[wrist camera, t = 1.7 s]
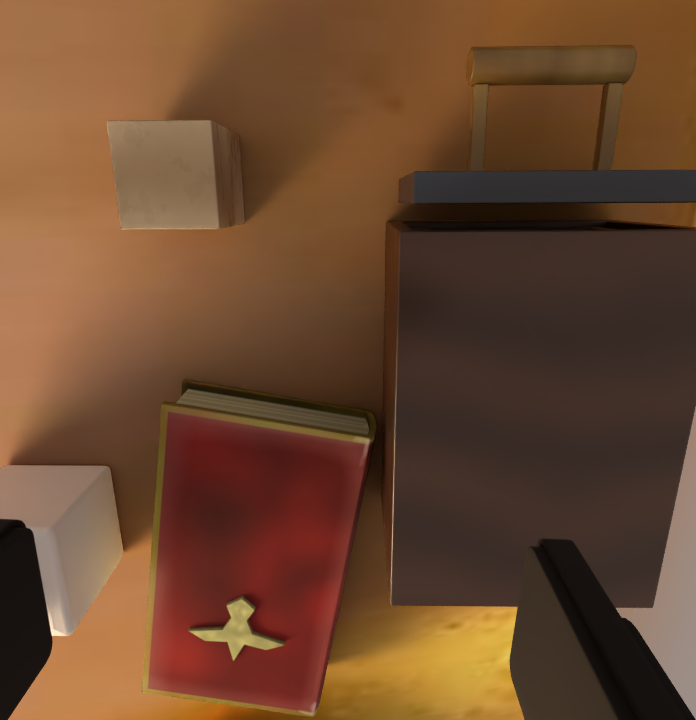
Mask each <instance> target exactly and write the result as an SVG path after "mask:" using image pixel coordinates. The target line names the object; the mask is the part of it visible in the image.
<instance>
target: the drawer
mask: <svg viewBox="0 0 696 720" xmlns="http://www.w3.org/2000/svg"><path fill="white" fill-rule="evenodd" d="M635 63H636V49H635V47H634V46H632V45H597V46H506V47H472V48H471V49H470V51H469V55H468V60H467V69H466V80H467V84H468V85H469V86H473V87H472V94H471V110H470V127H469V144H468V160H467V171H416V172H413V173H411V174H409V175H407V176H405V177H402V178H400V179H399V196H398V201H399V202H401V203H410V204H496V203H687V202H696V170H611V169H612V161H613V154H614V147H615V140H616V133H617V125H618V118H619V111H620V104H621V96H622V89H623V84H625V83H626V82H627V81H628V80H629V79H630V77H631V75H632V73H633V71H634V67H635ZM600 84H606V85H604V86H603V91H602V99H601V107H600V115H599V122H598V130H597V138H596V146H595V154H594V161H593V169H592V170H566V171H483V164H484V149H485V135H486V120H487V105H488V91H489V86H495V85H600ZM413 229H415V230H619V229H611V228H603V227H455V228H413Z"/></svg>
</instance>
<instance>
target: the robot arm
mask: <svg viewBox="0 0 696 720" xmlns="http://www.w3.org/2000/svg"><path fill="white" fill-rule="evenodd" d="M51 649H52V634H51V629H50V623H49V618H48V612H47V606H46V601H45V595H44V590H43V584H42V579H41V573H40V567H39V562H38V556H37V551H36V545H35V539H34V534H33V531H32V530H31V529H29V528H26V526H25V524H24V522H23V521H21V520H17V519H0V720H8V718H9V717H10V715H11V714H12V712H13V711H14V710H15V708H16V707H17V705H18V704H19V702H20V701H21V699H22V698H23V696H24V695H25V693H26V692H27V690H28V689H29V687H30V686H31V684H32V683H33V681H34V680H35V678H36V677H37V675H38V674H39V672H40V671H41V669H42V668H43V666H44V665H45V664H46V662H47V660H48V658H49V656H50V653H51ZM510 671H511V677H512V681H513V684H514V687H515V690H516V694H517V697H518V700H519V703H520V706H521V709H522V712H523V715H524V719H525V720H695V718H694V716H693V715H692V713H691V712H690V710H689V709H688V707H687V706H686V704H685V703H684V701H683V699H682V698H681V696H680V695H679V693H678V692H677V690H676V689H675V687H674V686H673V684H672V683H671V681H670V679H669V678H668V676H667V675H666V673H665V672H664V670H663V669H662V667H661V666H660V664H659V662H658V661H657V659H656V658H655V656H654V655H653V653H652V652H651V650H650V649H649V647H648V645H647V644H646V643H645V641H644V640H643V638H642V636H641V635H640V633H639V632H638V630H637V629H636V627H635V626H634V625H633V624H632V623H631V622H630V621H628V620H627V619H626V618H621V616H620V615H619V613H618V612H617V610H616V608H615V607H614V605H613V604H612V602H611V600H610V599H609V597H608V596H607V594H606V592H605V591H604V589H603V588H602V586H601V584H600V583H599V581H598V580H597V578H596V577H595V575H594V573H593V572H592V570H591V569H590V567H589V565H588V564H587V562H586V561H585V559H584V557H583V556H582V554H581V553H580V551H579V549H578V548H577V546H576V545H575V543H574V542H573V541H572V540H568V539H539V540H538V541H537V543H536V546H530V547H528V549H527V552H526V558H525V564H524V571H523V577H522V583H521V590H520V596H519V603H518V609H517V616H516V622H515V628H514V635H513V641H512V648H511V654H510Z"/></svg>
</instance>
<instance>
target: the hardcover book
mask: <svg viewBox="0 0 696 720" xmlns="http://www.w3.org/2000/svg"><path fill="white" fill-rule="evenodd" d="M376 428H377V424H376V420H375V417H374V415H373V413H371V412H370V411H369V410H363V409H357V408H351V407H345V406H339V405H333V404H327V403H321V402H315V401H309V400H303V399H297V398H291V397H285V396H279V395H273V394H267V393H261V392H255V391H249V390H243V389H237V388H231V387H225V386H219V385H213V384H208V383H202V382H196V381H190V380H184V381H183V382H182V394H181V398H180V399H179V400H178V401H177V402H176V403H172V402H166V401H164V402H163V403H162V404H161V418H160V432H159V447H158V461H157V476H156V490H155V505H154V519H153V534H152V548H151V563H150V578H149V592H148V607H147V621H146V636H145V650H144V665H143V679H142V692H144V693H151V694H158V695H165V696H172V697H178V698H185V699H192V700H199V701H206V702H213V703H220V704H227V705H233V706H240V707H247V708H254V709H261V710H268V711H275V712H281V713H288V714H295V715H302V716H309V717H314V715H315V714H316V713H317V711H318V707H319V703H320V699H321V694H322V689H323V685H324V680H325V675H326V670H327V665H328V660H329V656H330V651H331V646H332V641H333V636H334V632H335V627H336V622H337V617H338V612H339V608H340V603H341V598H342V593H343V588H344V584H345V579H346V574H347V569H348V564H349V559H350V555H351V550H352V545H353V540H354V535H355V531H356V526H357V521H358V516H359V511H360V507H361V502H362V497H363V492H364V487H365V482H366V478H367V473H368V468H369V463H370V458H371V454H372V449H373V444H374V439H375V434H376Z"/></svg>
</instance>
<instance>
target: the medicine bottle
mask: <svg viewBox="0 0 696 720" xmlns="http://www.w3.org/2000/svg"><path fill="white" fill-rule="evenodd" d="M0 519H17V520H21V521H23V522H24V524H25V526H26V528H29V529H31V530H32V531H33V534H34V539H35V545H36V551H37V556H38V562H39V567H40V573H41V579H42V584H43V590H44V595H45V601H46V606H47V612H48V618H49V623H50V629H51V634H52V636H69V635H71V634H72V633H73V632H74V631H75V629H76V628H77V626H78V625H79V623H80V622H81V620H82V619H83V617H84V616H85V614H86V612H87V611H88V609H89V608H90V606H91V605H92V603H93V602H94V600H95V599H96V597H97V596H98V594H99V593H100V591H101V590H102V588H103V586H104V585H105V583H106V582H107V580H108V579H109V577H110V576H111V574H112V573H113V571H114V570H115V568H116V567H117V565H118V564H119V562H120V560H121V559H122V557H123V554H124V551H123V545H122V539H121V532H120V526H119V520H118V514H117V507H116V501H115V495H114V489H113V482H112V476H111V470H110V468H109V467H108V466H69V465H7V466H3V467H2V468H1V469H0Z"/></svg>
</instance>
